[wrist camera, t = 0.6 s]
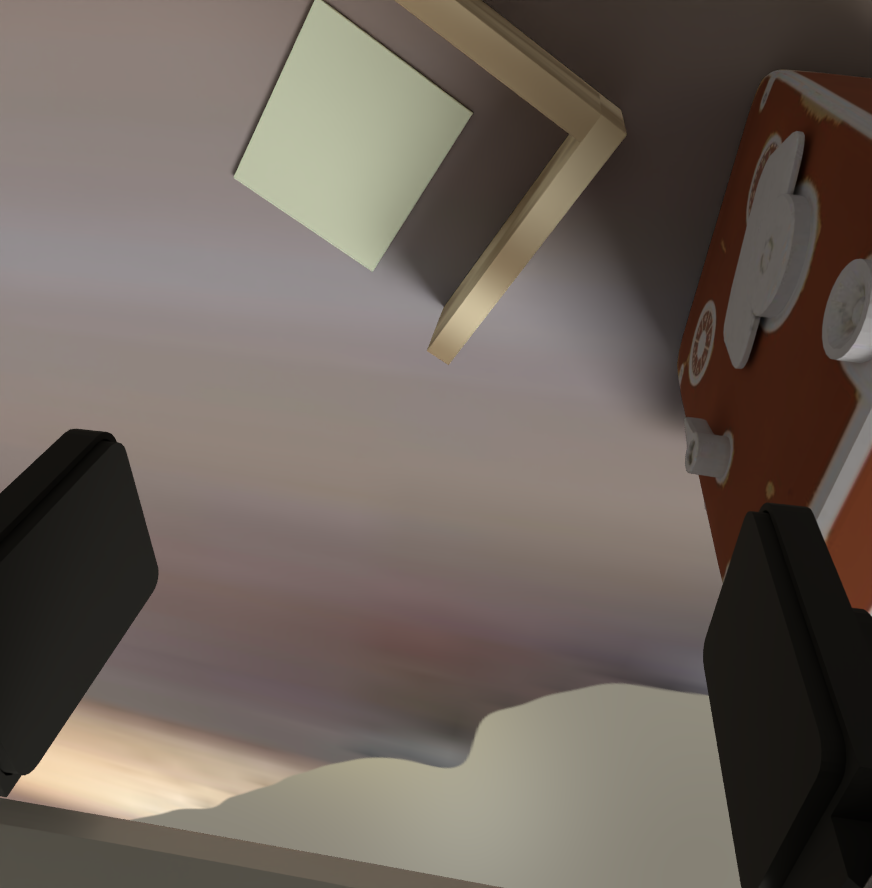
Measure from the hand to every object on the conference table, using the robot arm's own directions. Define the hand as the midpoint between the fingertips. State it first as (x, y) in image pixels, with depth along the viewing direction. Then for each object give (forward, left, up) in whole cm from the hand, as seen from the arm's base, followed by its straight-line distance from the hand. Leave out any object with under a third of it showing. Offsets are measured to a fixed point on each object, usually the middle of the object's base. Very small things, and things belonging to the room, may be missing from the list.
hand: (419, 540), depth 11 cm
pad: (+5, -7, -27) cm, 28 cm away
